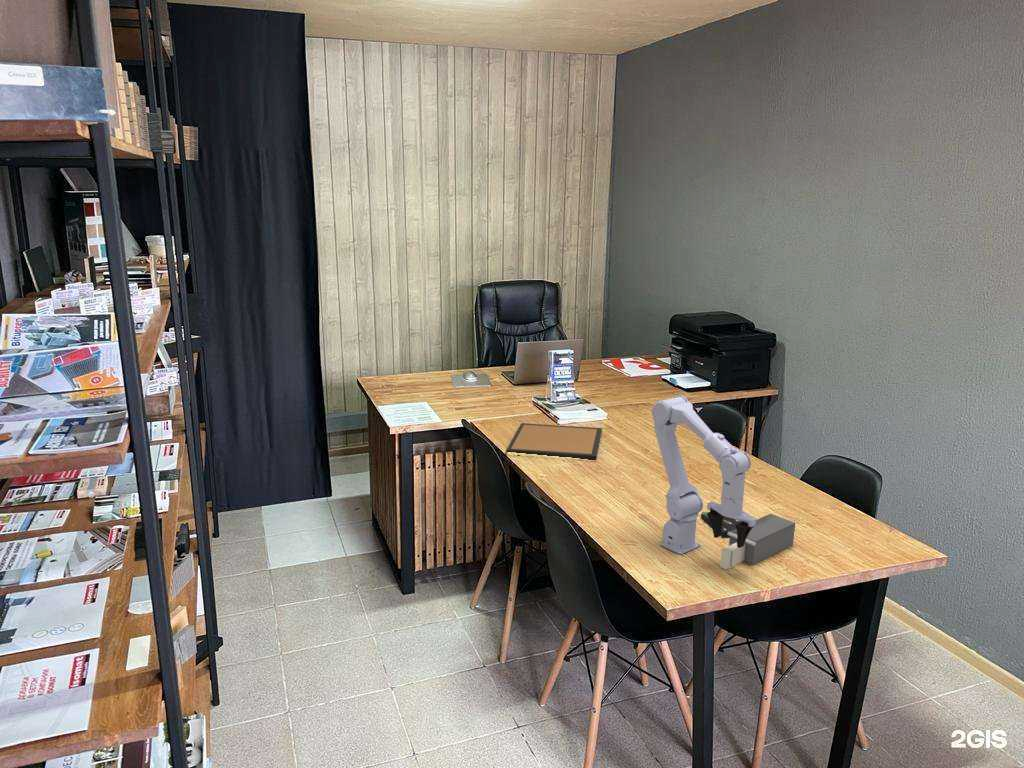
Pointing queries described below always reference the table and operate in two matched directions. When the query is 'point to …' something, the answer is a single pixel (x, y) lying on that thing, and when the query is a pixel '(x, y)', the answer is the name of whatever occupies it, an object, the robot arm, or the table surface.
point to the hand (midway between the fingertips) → (728, 541)
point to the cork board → (556, 441)
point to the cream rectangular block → (732, 555)
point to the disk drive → (727, 524)
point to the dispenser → (766, 538)
